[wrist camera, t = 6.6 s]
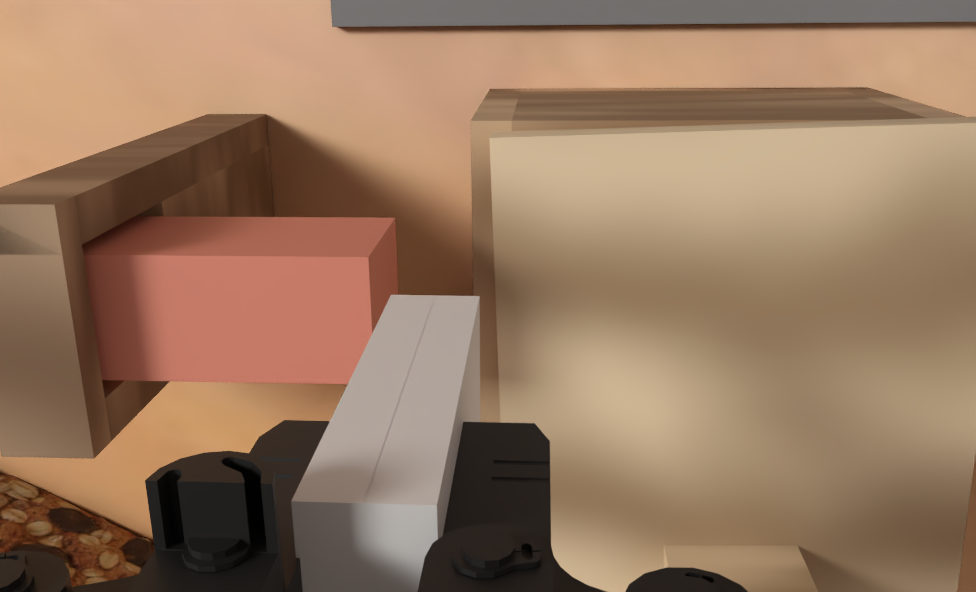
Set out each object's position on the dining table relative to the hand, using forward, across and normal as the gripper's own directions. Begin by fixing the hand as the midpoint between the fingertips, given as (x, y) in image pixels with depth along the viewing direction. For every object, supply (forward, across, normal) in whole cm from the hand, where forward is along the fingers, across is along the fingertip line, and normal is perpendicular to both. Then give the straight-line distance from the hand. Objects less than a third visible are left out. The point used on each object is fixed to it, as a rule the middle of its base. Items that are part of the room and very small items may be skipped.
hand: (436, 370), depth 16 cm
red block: (+7, -10, 0) cm, 12 cm away
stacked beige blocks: (+8, +7, -7) cm, 13 cm away
